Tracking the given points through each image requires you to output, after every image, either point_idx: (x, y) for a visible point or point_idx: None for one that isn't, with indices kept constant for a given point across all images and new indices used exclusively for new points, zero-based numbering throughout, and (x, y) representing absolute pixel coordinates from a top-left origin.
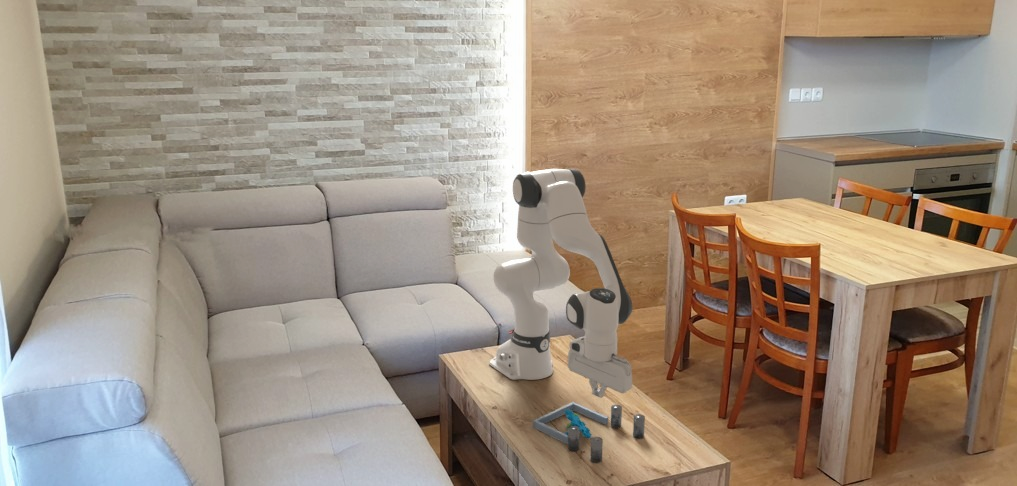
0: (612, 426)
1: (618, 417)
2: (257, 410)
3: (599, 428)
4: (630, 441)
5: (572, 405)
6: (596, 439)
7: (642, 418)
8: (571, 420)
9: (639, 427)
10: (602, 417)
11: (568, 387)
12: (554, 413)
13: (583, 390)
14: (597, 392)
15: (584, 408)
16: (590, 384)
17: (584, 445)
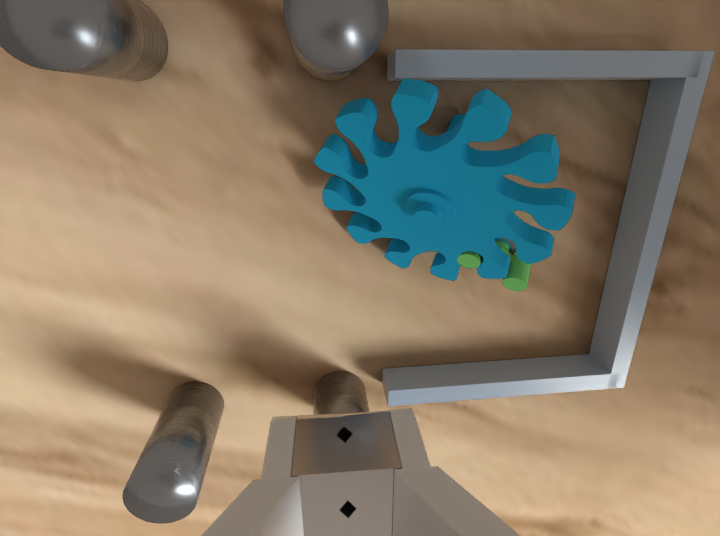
0: (339, 376)
1: None
2: None
3: (381, 324)
4: (182, 345)
5: (607, 364)
6: (39, 5)
7: (128, 497)
8: (455, 130)
9: (150, 436)
10: (411, 387)
11: (708, 466)
12: (643, 232)
13: (642, 491)
14: (321, 456)
15: (537, 382)
16: (491, 518)
17: (311, 128)
